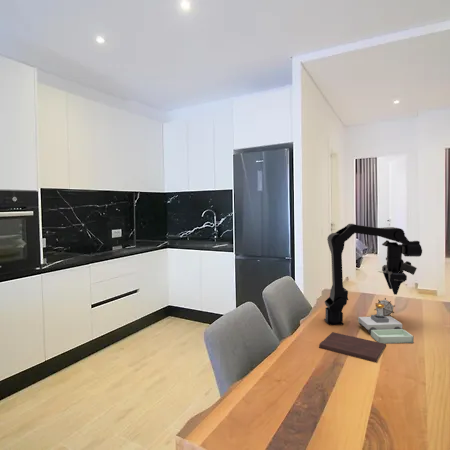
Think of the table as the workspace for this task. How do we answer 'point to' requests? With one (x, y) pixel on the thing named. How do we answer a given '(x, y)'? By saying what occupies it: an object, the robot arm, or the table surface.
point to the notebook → (353, 346)
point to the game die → (386, 307)
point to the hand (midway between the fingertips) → (392, 291)
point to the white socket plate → (379, 323)
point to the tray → (392, 336)
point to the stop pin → (379, 310)
